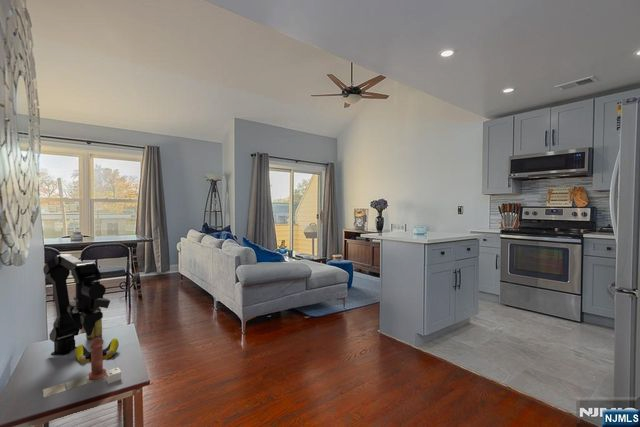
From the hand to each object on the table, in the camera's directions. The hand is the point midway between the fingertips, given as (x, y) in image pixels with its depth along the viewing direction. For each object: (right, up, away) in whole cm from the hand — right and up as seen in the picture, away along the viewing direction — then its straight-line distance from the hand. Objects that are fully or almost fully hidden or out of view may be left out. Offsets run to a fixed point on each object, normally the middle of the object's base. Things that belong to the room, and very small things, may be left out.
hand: (84, 332), depth 122 cm
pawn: (+12, -13, -9) cm, 20 cm away
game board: (+6, -14, -12) cm, 19 cm away
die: (+19, -14, -11) cm, 26 cm away
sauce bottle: (-13, -12, +23) cm, 29 cm away
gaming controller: (+1, -13, +6) cm, 14 cm away
